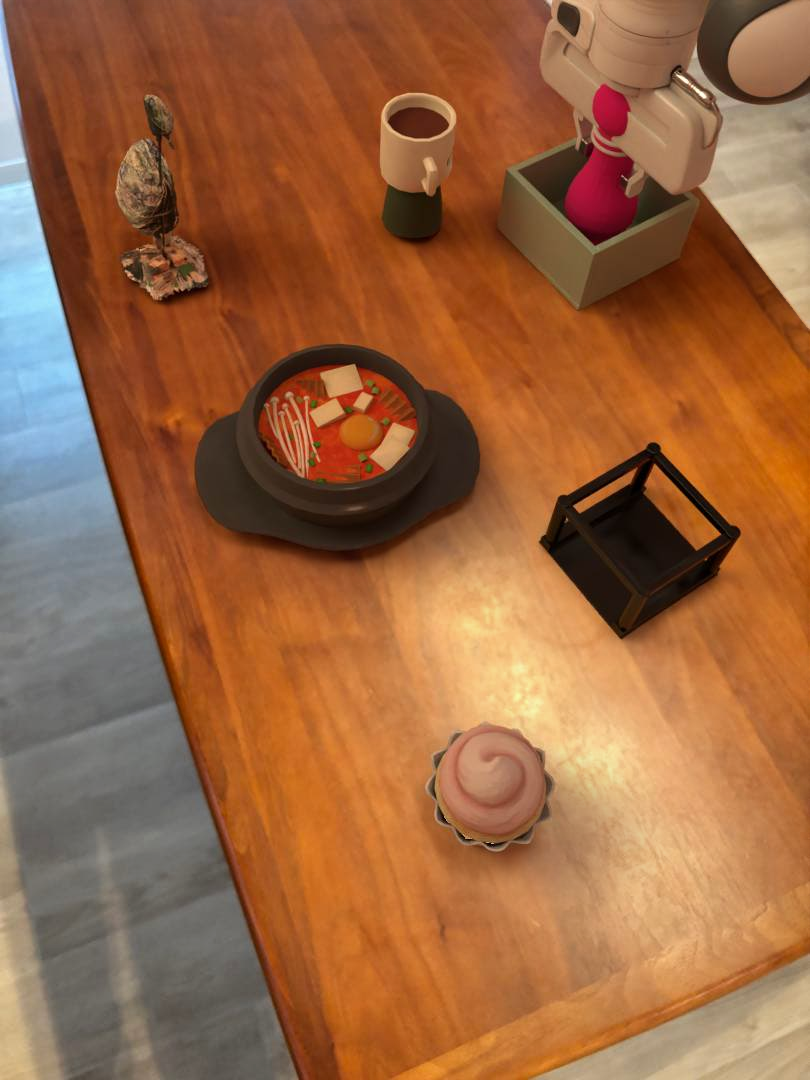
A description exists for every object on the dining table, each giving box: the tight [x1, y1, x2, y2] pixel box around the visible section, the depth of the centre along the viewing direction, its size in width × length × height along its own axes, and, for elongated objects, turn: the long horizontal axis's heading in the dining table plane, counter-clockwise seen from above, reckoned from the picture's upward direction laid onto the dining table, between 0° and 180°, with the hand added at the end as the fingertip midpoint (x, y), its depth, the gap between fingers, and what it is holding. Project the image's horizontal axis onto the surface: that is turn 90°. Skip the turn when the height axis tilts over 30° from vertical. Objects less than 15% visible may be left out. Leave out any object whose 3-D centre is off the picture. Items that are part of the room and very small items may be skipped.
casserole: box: [194, 343, 481, 552], centre depth 86 cm, size 25×19×8 cm
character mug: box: [379, 92, 457, 239], centre depth 100 cm, size 11×7×13 cm, turn 16°
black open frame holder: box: [538, 441, 742, 640], centre depth 84 cm, size 11×11×8 cm
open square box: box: [496, 136, 701, 311], centre depth 102 cm, size 14×14×8 cm
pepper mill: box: [565, 84, 638, 246], centre depth 96 cm, size 7×7×20 cm
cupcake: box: [424, 720, 556, 852], centre depth 71 cm, size 9×9×10 cm
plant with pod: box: [114, 94, 211, 301], centre depth 92 cm, size 8×11×20 cm
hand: (607, 171), depth 97 cm, fingers closed on pepper mill, 5 cm apart
